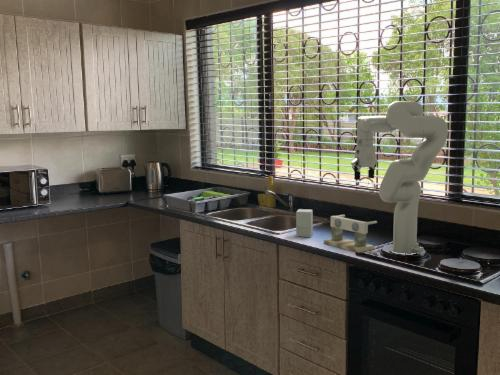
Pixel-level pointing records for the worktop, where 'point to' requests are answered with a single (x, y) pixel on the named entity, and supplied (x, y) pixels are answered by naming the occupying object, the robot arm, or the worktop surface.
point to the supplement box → (304, 222)
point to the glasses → (350, 224)
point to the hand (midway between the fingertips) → (364, 178)
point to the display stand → (348, 241)
